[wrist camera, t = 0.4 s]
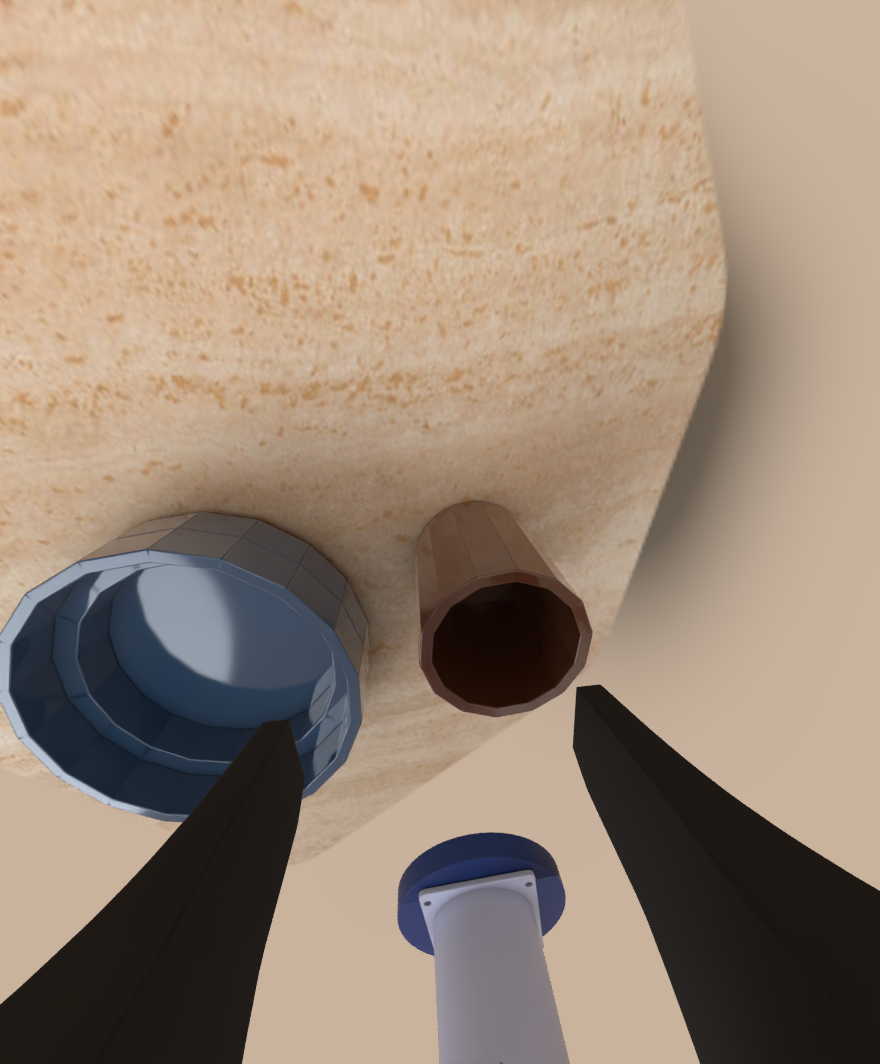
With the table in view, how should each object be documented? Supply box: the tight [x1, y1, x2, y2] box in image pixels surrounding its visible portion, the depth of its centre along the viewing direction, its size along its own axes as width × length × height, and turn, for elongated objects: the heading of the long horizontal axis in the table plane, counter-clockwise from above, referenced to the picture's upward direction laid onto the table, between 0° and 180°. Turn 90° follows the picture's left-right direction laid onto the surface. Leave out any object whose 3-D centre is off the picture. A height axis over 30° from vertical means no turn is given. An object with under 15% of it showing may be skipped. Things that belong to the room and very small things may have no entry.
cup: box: [415, 501, 592, 717], centre depth 16 cm, size 5×6×7 cm
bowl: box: [0, 512, 370, 822], centre depth 18 cm, size 13×13×4 cm
